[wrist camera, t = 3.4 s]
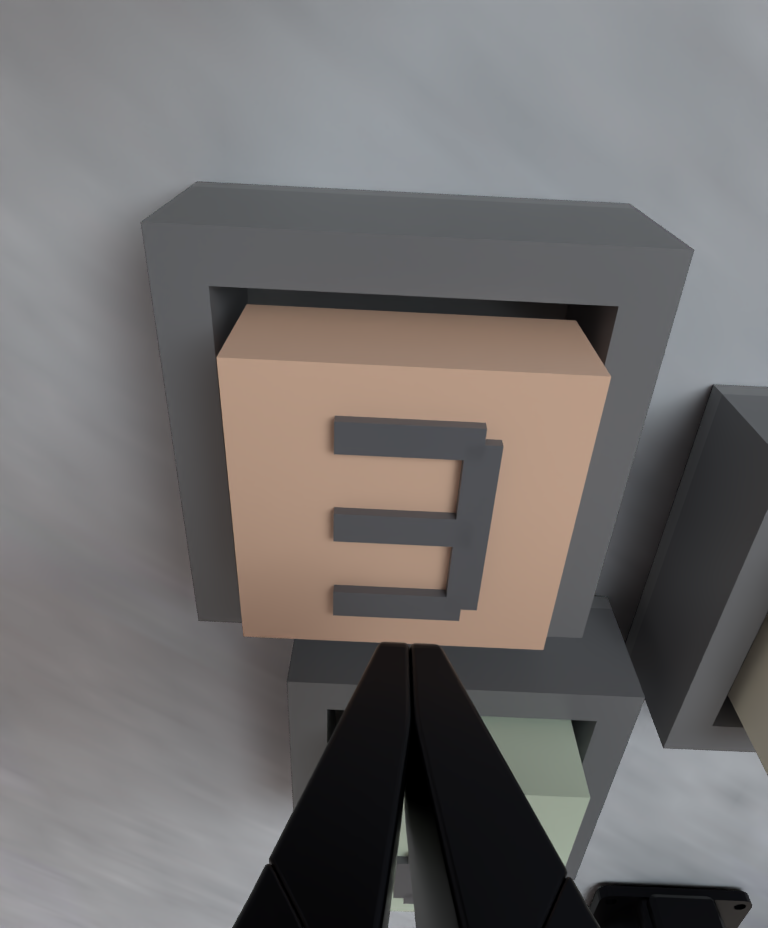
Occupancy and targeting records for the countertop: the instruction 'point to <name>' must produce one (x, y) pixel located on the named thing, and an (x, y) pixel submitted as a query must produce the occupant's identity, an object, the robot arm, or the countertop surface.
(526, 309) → the tile collars
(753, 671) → the tile
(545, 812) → the tile
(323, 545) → the tile
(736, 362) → the countertop surface
